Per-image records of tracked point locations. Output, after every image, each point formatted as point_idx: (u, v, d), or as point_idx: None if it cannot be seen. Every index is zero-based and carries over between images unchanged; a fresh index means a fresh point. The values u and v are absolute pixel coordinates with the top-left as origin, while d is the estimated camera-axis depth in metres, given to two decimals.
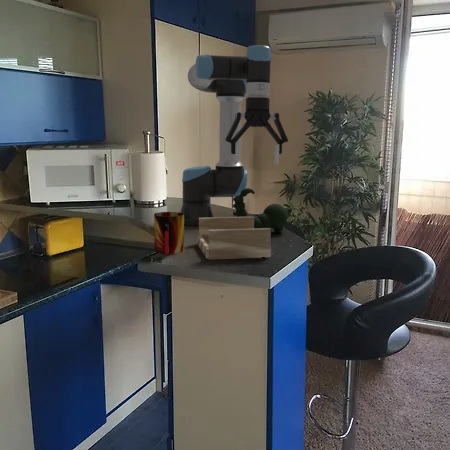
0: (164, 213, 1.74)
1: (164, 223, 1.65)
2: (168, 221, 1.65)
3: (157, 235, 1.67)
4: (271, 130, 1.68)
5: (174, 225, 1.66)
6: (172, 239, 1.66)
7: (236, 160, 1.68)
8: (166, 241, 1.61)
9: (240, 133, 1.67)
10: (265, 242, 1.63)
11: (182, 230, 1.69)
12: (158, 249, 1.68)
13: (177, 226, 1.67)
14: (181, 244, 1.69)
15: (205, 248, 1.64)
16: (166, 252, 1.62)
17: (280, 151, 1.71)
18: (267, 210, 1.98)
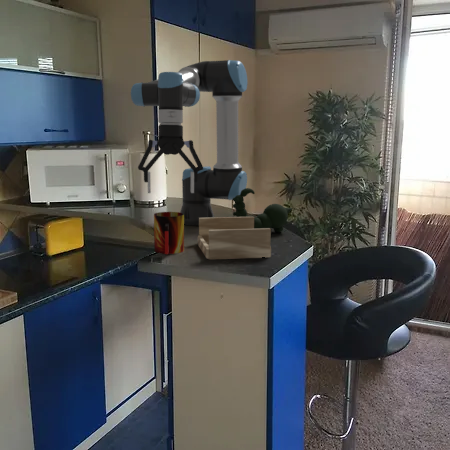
0: (164, 213, 1.74)
1: (164, 223, 1.65)
2: (168, 221, 1.65)
3: (157, 235, 1.67)
4: (185, 158, 1.64)
5: (174, 225, 1.66)
6: (172, 239, 1.66)
7: (149, 189, 1.63)
8: (166, 241, 1.61)
9: (152, 161, 1.62)
10: (265, 242, 1.63)
11: (182, 230, 1.69)
12: (158, 249, 1.68)
13: (177, 226, 1.67)
14: (181, 244, 1.69)
15: (205, 248, 1.64)
16: (166, 252, 1.62)
17: (195, 179, 1.66)
18: (267, 210, 1.98)
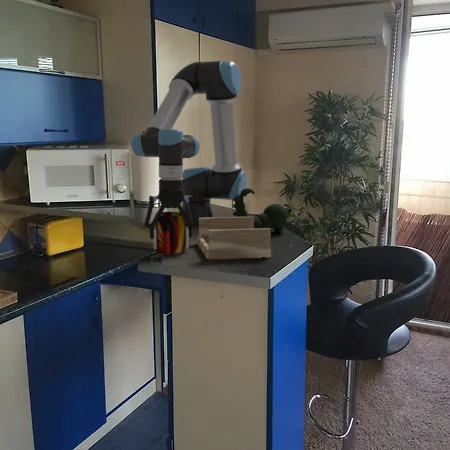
0: (165, 213, 1.74)
1: (165, 223, 1.65)
2: (169, 221, 1.65)
3: (158, 235, 1.67)
4: (182, 213, 1.67)
5: (176, 224, 1.66)
6: (173, 239, 1.67)
7: (155, 245, 1.67)
8: (167, 241, 1.61)
9: (156, 217, 1.66)
10: (265, 242, 1.63)
11: (183, 230, 1.69)
12: (159, 249, 1.68)
13: (178, 226, 1.67)
14: (182, 244, 1.69)
15: (205, 248, 1.64)
16: (167, 252, 1.62)
17: (190, 235, 1.69)
18: (267, 210, 1.98)
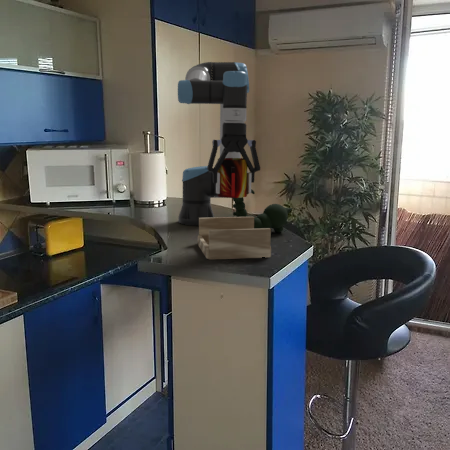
0: (226, 159, 1.74)
1: (229, 166, 1.65)
2: (233, 164, 1.65)
3: (221, 179, 1.67)
4: (245, 157, 1.67)
5: (239, 168, 1.66)
6: (237, 183, 1.67)
7: (218, 189, 1.67)
8: (233, 183, 1.61)
9: (220, 161, 1.66)
10: (265, 242, 1.63)
11: (246, 174, 1.69)
12: (222, 193, 1.68)
13: (242, 170, 1.67)
14: (245, 189, 1.69)
15: (205, 248, 1.64)
16: (233, 194, 1.62)
17: (252, 180, 1.69)
18: (267, 210, 1.98)
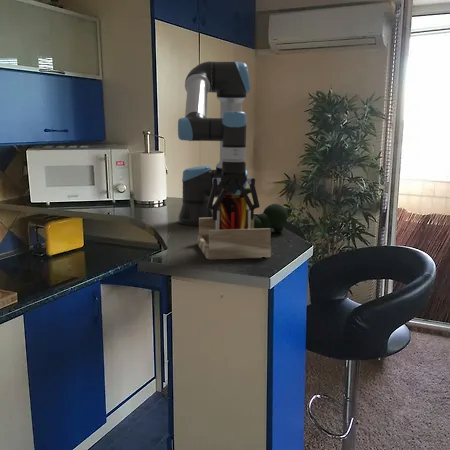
0: (226, 195, 1.76)
1: (229, 204, 1.68)
2: (233, 202, 1.67)
3: (221, 216, 1.70)
4: (245, 195, 1.69)
5: (239, 206, 1.68)
6: (236, 220, 1.69)
7: (217, 226, 1.69)
8: (232, 222, 1.63)
9: (220, 199, 1.68)
10: (265, 242, 1.63)
11: (245, 212, 1.71)
12: None
13: (241, 207, 1.69)
14: (244, 225, 1.71)
15: (205, 248, 1.64)
16: None
17: (252, 217, 1.72)
18: (267, 210, 1.98)
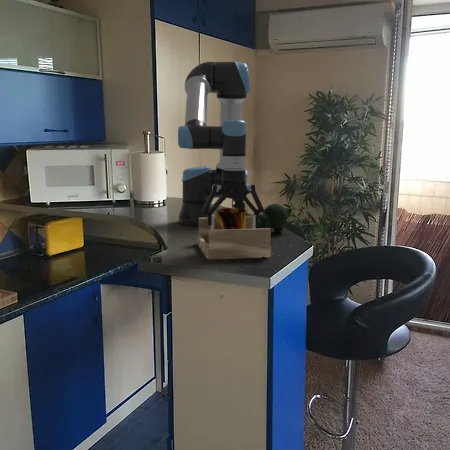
0: (224, 209, 1.77)
1: (228, 219, 1.69)
2: (232, 217, 1.68)
3: None
4: (247, 201, 1.70)
5: (238, 221, 1.69)
6: None
7: None
8: None
9: (216, 205, 1.68)
10: (265, 242, 1.63)
11: (244, 226, 1.72)
12: None
13: (240, 222, 1.70)
14: None
15: (205, 248, 1.64)
16: None
17: (256, 221, 1.72)
18: (267, 210, 1.98)
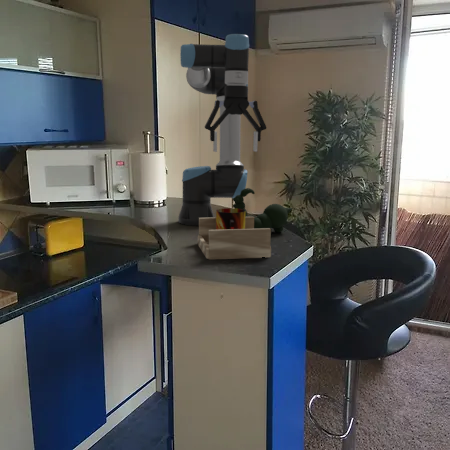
0: (224, 209, 1.77)
1: (228, 219, 1.69)
2: (232, 217, 1.69)
3: None
4: (250, 118, 1.72)
5: (238, 221, 1.69)
6: None
7: (215, 147, 1.72)
8: None
9: (219, 121, 1.70)
10: (265, 242, 1.63)
11: (244, 226, 1.72)
12: None
13: (240, 222, 1.70)
14: None
15: (205, 248, 1.64)
16: None
17: (259, 138, 1.74)
18: (267, 210, 1.98)
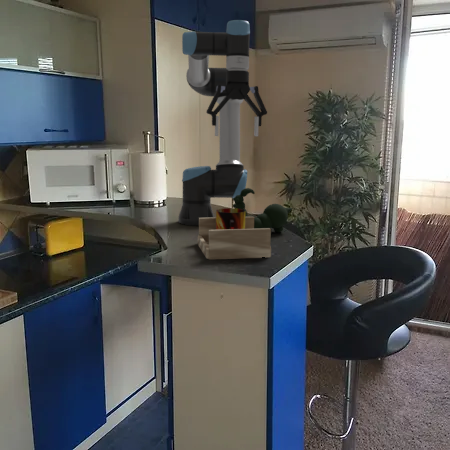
0: (224, 209, 1.77)
1: (228, 219, 1.69)
2: (232, 217, 1.69)
3: None
4: (251, 103, 1.75)
5: (238, 221, 1.69)
6: None
7: (217, 131, 1.74)
8: None
9: (220, 105, 1.73)
10: (265, 242, 1.63)
11: (244, 226, 1.72)
12: None
13: (240, 222, 1.70)
14: None
15: (205, 248, 1.64)
16: None
17: (260, 123, 1.77)
18: (267, 210, 1.98)
